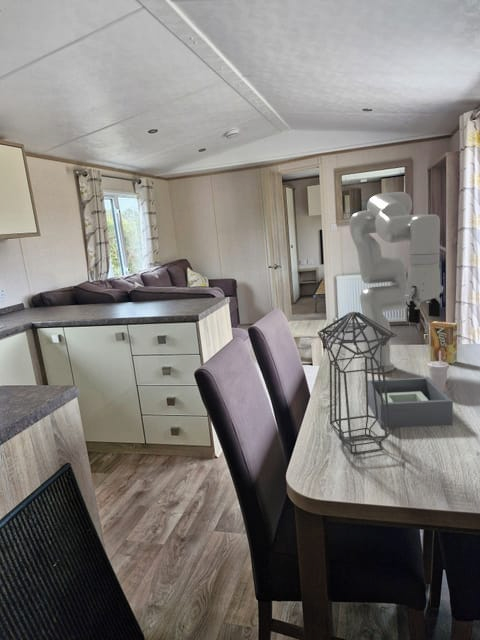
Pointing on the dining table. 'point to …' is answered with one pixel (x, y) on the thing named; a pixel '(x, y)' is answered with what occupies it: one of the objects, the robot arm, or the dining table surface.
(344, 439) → the geometric lantern
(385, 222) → the robot arm
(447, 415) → the bin
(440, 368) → the smoothie
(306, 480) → the dining table surface
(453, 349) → the candy box
